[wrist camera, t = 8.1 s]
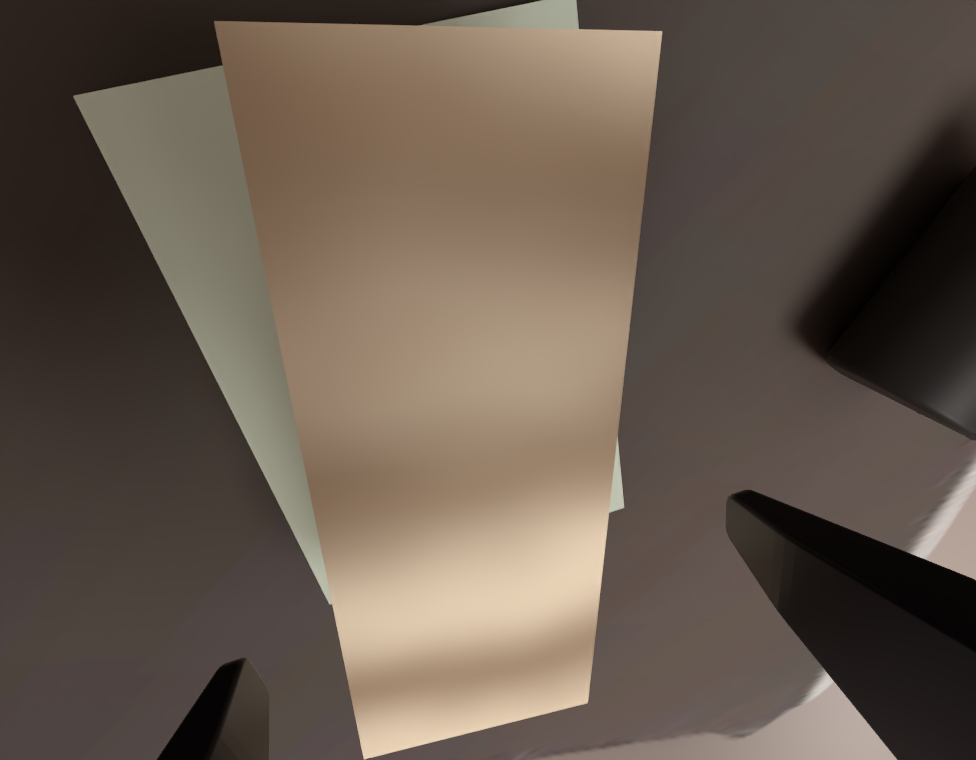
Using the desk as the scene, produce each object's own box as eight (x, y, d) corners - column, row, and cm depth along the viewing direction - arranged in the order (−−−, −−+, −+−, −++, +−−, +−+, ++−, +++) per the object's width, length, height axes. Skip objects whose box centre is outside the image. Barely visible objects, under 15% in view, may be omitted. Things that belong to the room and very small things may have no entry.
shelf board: (555, 624, 19) (587, 702, 17) (362, 666, 18) (363, 759, 15) (590, 53, 11) (662, 30, 9) (249, 49, 10) (213, 21, 7)
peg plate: (89, 97, 14) (-61, 80, 9) (563, 1, 16) (666, -61, 11) (330, 586, 24) (324, 717, 19) (614, 494, 25) (683, 590, 20)
